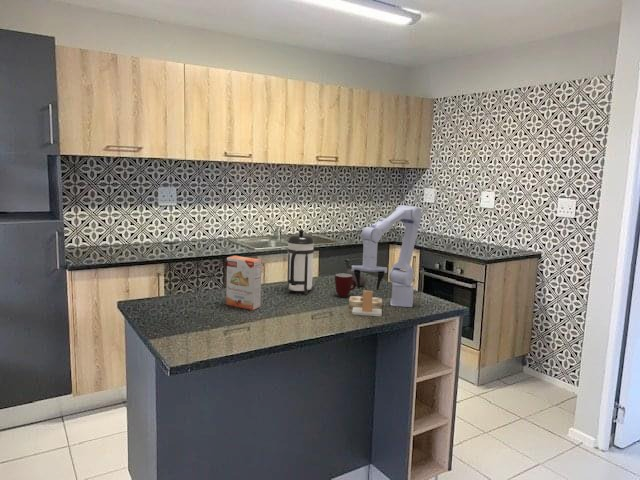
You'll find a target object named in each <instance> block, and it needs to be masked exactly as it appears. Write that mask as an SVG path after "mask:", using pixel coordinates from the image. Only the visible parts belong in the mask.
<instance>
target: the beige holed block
mask: <svg viewBox="0 0 640 480" xmlns="http://www.w3.org/2000/svg"><path fill="white" fill-rule="evenodd" d="M362 302H363V296H361V295H360V296H358V295H350V296H349V299H348V308H349V309H353V307H358V308H362ZM382 307H383V298H382V297H373V299H372V309H382Z"/></svg>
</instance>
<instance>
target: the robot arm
mask: <svg viewBox="0 0 640 480" xmlns="http://www.w3.org/2000/svg"><path fill="white" fill-rule="evenodd" d="M422 216H423V212H422V209H421V207H419V206H412V205H404V204H400V205H398V206H396V208H395V211H393V212H392V213H390V215H388V216H387V217H386V218H385V217H384V218H383V217H380V218H378V221H376V222H374V223H371V225H370V226H365V227H364V228H363V229H362V231H361V233H360V238H361V241H362V245H363V246H362V247H363V249H362V251H363V252H362V264H361V265H351V269H352V270H351V271H354V275H355V277H356V280H357V283H358V285H357V289H360V288H361V286H360V273H361V272H372V273H373V272H374V273H377V285H376V290H377V291H378V290H379V288H380V284H381V282H382V279H383V278H384V276H385V274H388V267H385V266H379V265H377V264H378V263H377V261H378V242H380V240H381V239H382V236H383V235H384V234H386V233H387V232H388V231H390V230H391V226H393V225H394V224H396V223H397V222H399V221H400V223H401V224H402V225H404V227H405V229H404V230H405V231H404V235H403V239H402V243H401V247H400V252H399V257H398V260H397V262H395V263H393V265H392V267H391V270H390V271H389V274H388V279H389V281H390V284H391V285H392V288H391V299H390V300H389V301H390V306H392V307H406V308H413V303H414V285H412V284H413V281H414V278H415V276H414V272H415V270H414V267H412V266H411V262H412V257H413V253H414V248H415V243H416V240H417V235H418V232H419V231H418V230H419V227H420V225H421V221H422Z"/></svg>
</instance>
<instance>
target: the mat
mask: <svg viewBox="0 0 640 480" xmlns="http://www.w3.org/2000/svg"><path fill="white" fill-rule="evenodd" d="M382 311H383V310H382V309H372V312H363V311H362V308H358V307H353V308H352V311H351V315H355V316H356V315H357V316H370V317H382V316H383V315H382Z"/></svg>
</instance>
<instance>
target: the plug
mask: <svg viewBox="0 0 640 480" xmlns="http://www.w3.org/2000/svg"><path fill="white" fill-rule="evenodd" d="M373 294H374V291H373V290H366V289H363V290H362V297H363V302H362V311H363V312H372V299H373Z"/></svg>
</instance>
